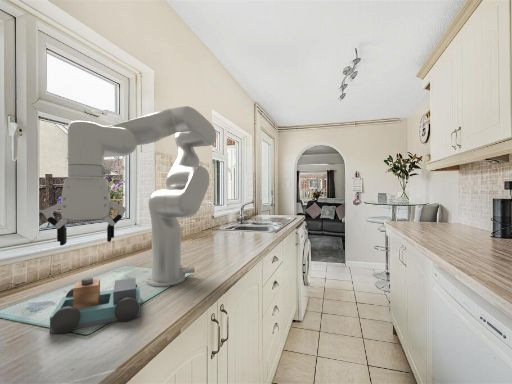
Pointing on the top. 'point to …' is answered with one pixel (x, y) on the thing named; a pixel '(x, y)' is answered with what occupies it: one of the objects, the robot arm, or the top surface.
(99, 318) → the chassis
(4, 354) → the top surface
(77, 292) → the orange block with knob
